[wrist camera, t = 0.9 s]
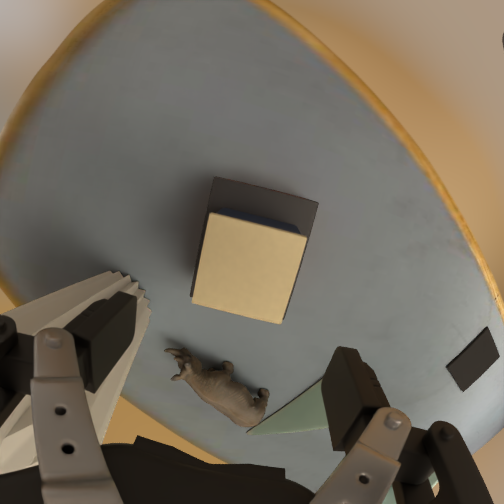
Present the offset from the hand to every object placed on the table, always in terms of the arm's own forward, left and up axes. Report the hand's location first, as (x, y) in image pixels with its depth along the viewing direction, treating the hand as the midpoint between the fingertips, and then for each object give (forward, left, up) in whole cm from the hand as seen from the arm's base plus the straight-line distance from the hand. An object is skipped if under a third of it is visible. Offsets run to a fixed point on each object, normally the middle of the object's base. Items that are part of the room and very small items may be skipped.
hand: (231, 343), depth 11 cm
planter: (+20, +13, -19) cm, 30 cm away
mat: (+9, +35, -19) cm, 41 cm away
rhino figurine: (+16, 0, -19) cm, 25 cm away
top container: (0, 0, -14) cm, 14 cm away
